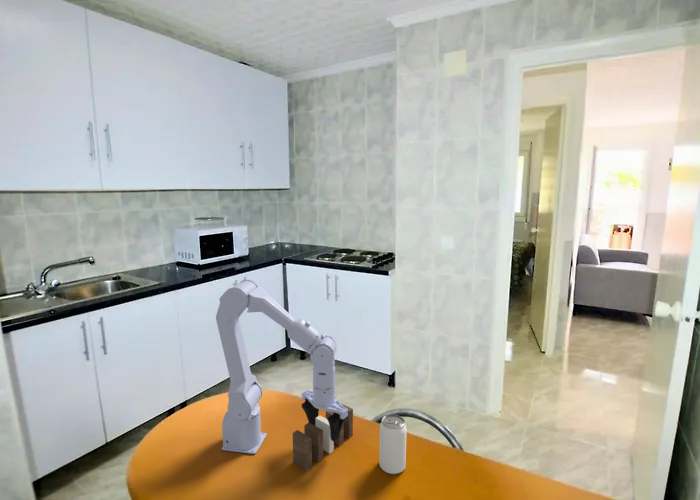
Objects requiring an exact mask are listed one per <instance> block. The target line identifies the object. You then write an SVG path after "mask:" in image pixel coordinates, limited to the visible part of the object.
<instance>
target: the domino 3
mask: <svg viewBox="0 0 700 500" xmlns="http://www.w3.org/2000/svg"><path fill="white" fill-rule="evenodd" d="M316 427H318V428H320V429H322V430H323V452H326V453H327V454H329V455H330V454H331V453H333V452H334V450H335V449H334V448H335V445H334V444H335V443H334V441H332V440H331V430H330V425H329V422H328V420H327V419H326V417H323V416H322V415H321V414H320V415H319V414H318V417H316Z"/></svg>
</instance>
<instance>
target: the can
mask: <svg viewBox="0 0 700 500" xmlns="http://www.w3.org/2000/svg"><path fill="white" fill-rule="evenodd" d="M378 449H379V453H378V454H379V457H378V458H379V463H378V464H379V467H380V469H382V471H383V472H385V473H386V474H389V475H398V474H401V473H402V472H403V471H404V470H406V463H407V462H406V460H407V459H406V458H407V457H406V456H407V455H406V454H407V426H406V421H405V419H404V417H402V416H401V415H397V414H395V413H393V414H389V413H388V414H386V415H384V416H383V417H382V418H381V422H380V424H379V448H378Z"/></svg>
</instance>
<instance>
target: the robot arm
mask: <svg viewBox="0 0 700 500" xmlns="http://www.w3.org/2000/svg"><path fill="white" fill-rule="evenodd" d="M218 301H219V304H218V305H219V306H218V308H217V311H216V314H215V315H216V316H215V321H216V325H217V329H218V333H219V337H220V338H219V339H220V341H221V345H222V350H223V354H224V359H225V363H226V364H225V365H226V367H227V370H228V371H227V372H228V376H229V380H230V385H229V387H228V392H227V397H228V403H227V411H226V412H225V414H224V416H223V419H222V424H221V431H222V447H221V450H222V451H227V452H237V453H243V454H252V455H255V454H257V452H258V451H259V449H260V447H261V445H262V444H263V442H264V440H265V439H266V437H267V435H268V434H267V433H266V432H262V424H261V407H260V405H259V404H260V402H259V401H260V400H261V399H262V397H263V393H264V392H263V391H264V390H263V388H262V386H261V384H259V382H258V380H257V376H256V375H254V374H252V371H251V367H250V363H249V357H248V353H247V349H246V344H245V341H244V336H243V332H242V328H241V324H240V319H239V318H240V317H241V316H242V314H243V313H244V311H245V310H246V309H247V311H246V312H247V313H263V314H264V315H265V316H267V317H268V318H269V319H271V320H273V321H274V322H275V323H276V324H278V325H279V326H281V328H284V329H285V330H286V331H287V337H288V339H290V340H291V341H292V342H294V344H295V345H298V346H299V348H301V349H302V350H304V351H305V353H307V354H308V355H309V358H310V360H311V363H312V364H313V366H312V390H309V389H306V390H304V391H302V393H301V395H302V396H301V397H302V398H301V399H302V400H304V402H303V403H302V404H301V408H302V411H303V412H304V413H305V415H306V418H307V421H308V423H311V424H313V425H314V426H316V417H318V416H319V411H320V410H321V411H325V412H326V411H330V412H333V415H331V416H330V417H328V418H327V420H328V422H329V425H330V430H331V440H332V441H335V440H336V439H338V438H339V434H340V430H341V427H342V424H343V422H344V420H345V419H346V417H347V416H348V409H347V408H345V407H344V406H343V405H344V404H343V403H341V402H340V401H339V400H338V399H337V394H336V366H335V365H336V364H335V363H336V361H335V355H336V352H337V343H336V341H335V339H333V337H332V336H330V335H327V334H324V333H321V332H319V331H318V330H317V329H316V328H315V327H313V326H312V325H311V324H312V322H311V321H310V320H308V319H307V320H306V321H305V319H303V318H302V319H301V318H294V316H293V315H292V314H290V313H289V312H288V311H287V310H286V309H285V308H284V307H282V306H281V305H280V304H279V303H278V301H276V300H275V299H274V298H273V297H271V296H270V295H269V294H268V292H267V291H266V290H265V288H264V287H262V286H260V285H258V283H256V282H255V281H254V280H252V279H244V280H241V281H240V282H239V283H238V284H236V285H234V286H232V287H230V288H228V289H227V290H226V291H224V292H223V293H222V295H221V296H220V297H219V300H218ZM342 404H343V405H342Z"/></svg>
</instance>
